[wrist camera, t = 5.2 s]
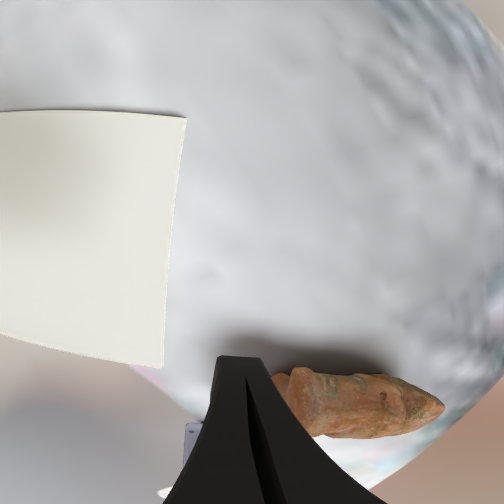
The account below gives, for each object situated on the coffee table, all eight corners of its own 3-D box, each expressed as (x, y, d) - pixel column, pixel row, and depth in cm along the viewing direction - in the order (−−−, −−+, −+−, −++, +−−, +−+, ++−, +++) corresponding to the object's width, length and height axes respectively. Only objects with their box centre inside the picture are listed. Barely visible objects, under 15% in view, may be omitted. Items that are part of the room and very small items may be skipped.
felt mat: (163, 363, 21) (162, 368, 20) (-2, 329, 18) (-5, 332, 18) (186, 118, 14) (186, 118, 14) (-28, 114, 12) (-33, 115, 11)
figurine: (249, 378, 22) (375, 352, 30) (269, 479, 18) (391, 425, 26) (328, 355, 16) (444, 326, 23) (356, 493, 12) (463, 411, 20)
